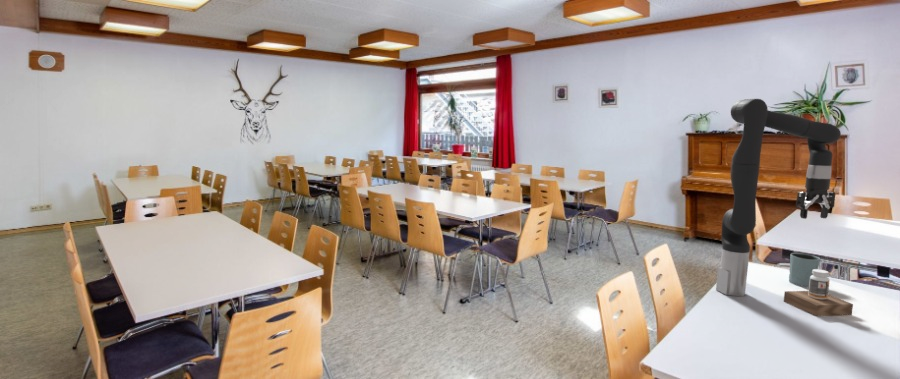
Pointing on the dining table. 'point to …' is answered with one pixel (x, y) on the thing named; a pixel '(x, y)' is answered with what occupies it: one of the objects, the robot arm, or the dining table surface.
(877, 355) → the dining table surface
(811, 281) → the pill bottle
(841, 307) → the walnut base
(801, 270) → the green plant pot
